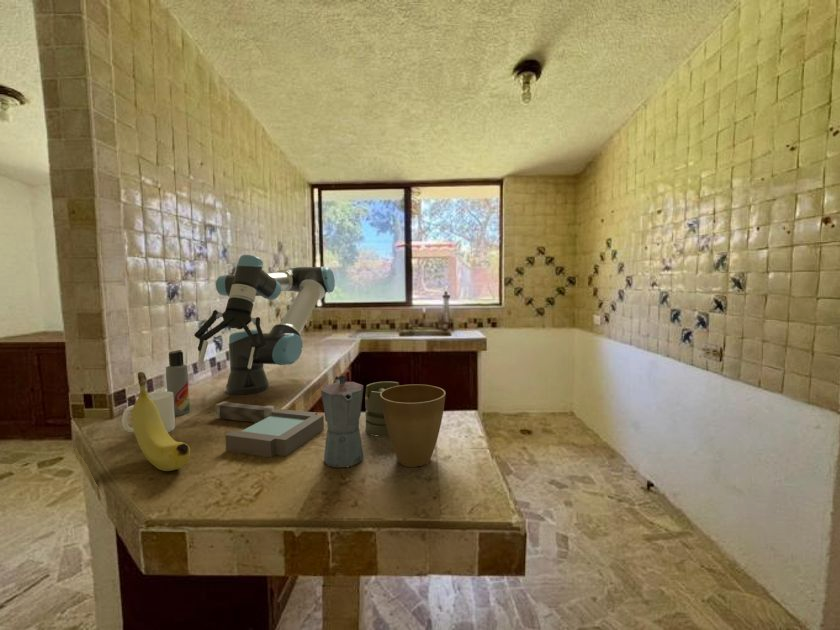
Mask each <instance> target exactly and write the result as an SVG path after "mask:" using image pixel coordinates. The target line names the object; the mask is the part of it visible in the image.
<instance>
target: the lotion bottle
mask: <svg viewBox="0 0 840 630" xmlns="http://www.w3.org/2000/svg"><path fill="white" fill-rule="evenodd" d="M168 364H169V365H168V366H166V367H165V376H166V379H165V380H166V392H172V393H173V398H174V415H175V417H176V416H182V415H185V414H188V413H189V412H190V393H189V391H190V389H189V370H188V365H187V364H185V362H184V352H183V351H182V350H181V349H177V350H173V351H170V352H168Z"/></svg>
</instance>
